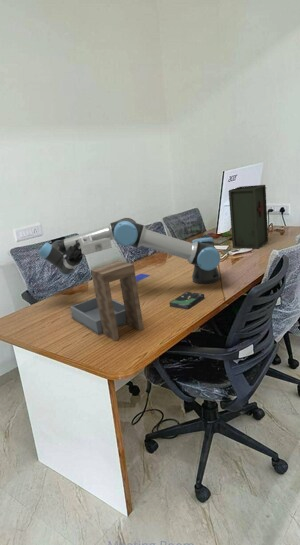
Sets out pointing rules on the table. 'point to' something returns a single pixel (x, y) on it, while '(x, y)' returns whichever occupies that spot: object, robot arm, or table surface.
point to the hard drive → (141, 277)
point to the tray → (96, 314)
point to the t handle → (95, 245)
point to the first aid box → (248, 216)
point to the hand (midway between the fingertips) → (86, 239)
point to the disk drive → (186, 300)
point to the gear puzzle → (218, 236)
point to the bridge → (129, 294)
